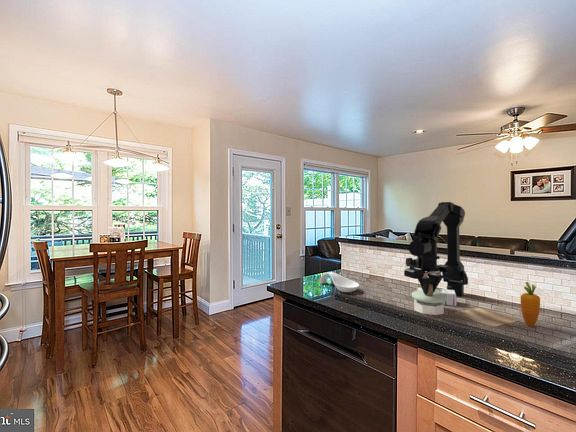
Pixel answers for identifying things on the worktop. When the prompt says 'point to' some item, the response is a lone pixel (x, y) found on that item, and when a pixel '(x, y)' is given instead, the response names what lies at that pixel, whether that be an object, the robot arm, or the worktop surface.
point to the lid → (429, 296)
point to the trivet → (487, 317)
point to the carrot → (530, 305)
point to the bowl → (429, 307)
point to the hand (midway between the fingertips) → (428, 293)
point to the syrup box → (449, 293)
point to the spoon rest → (340, 282)
